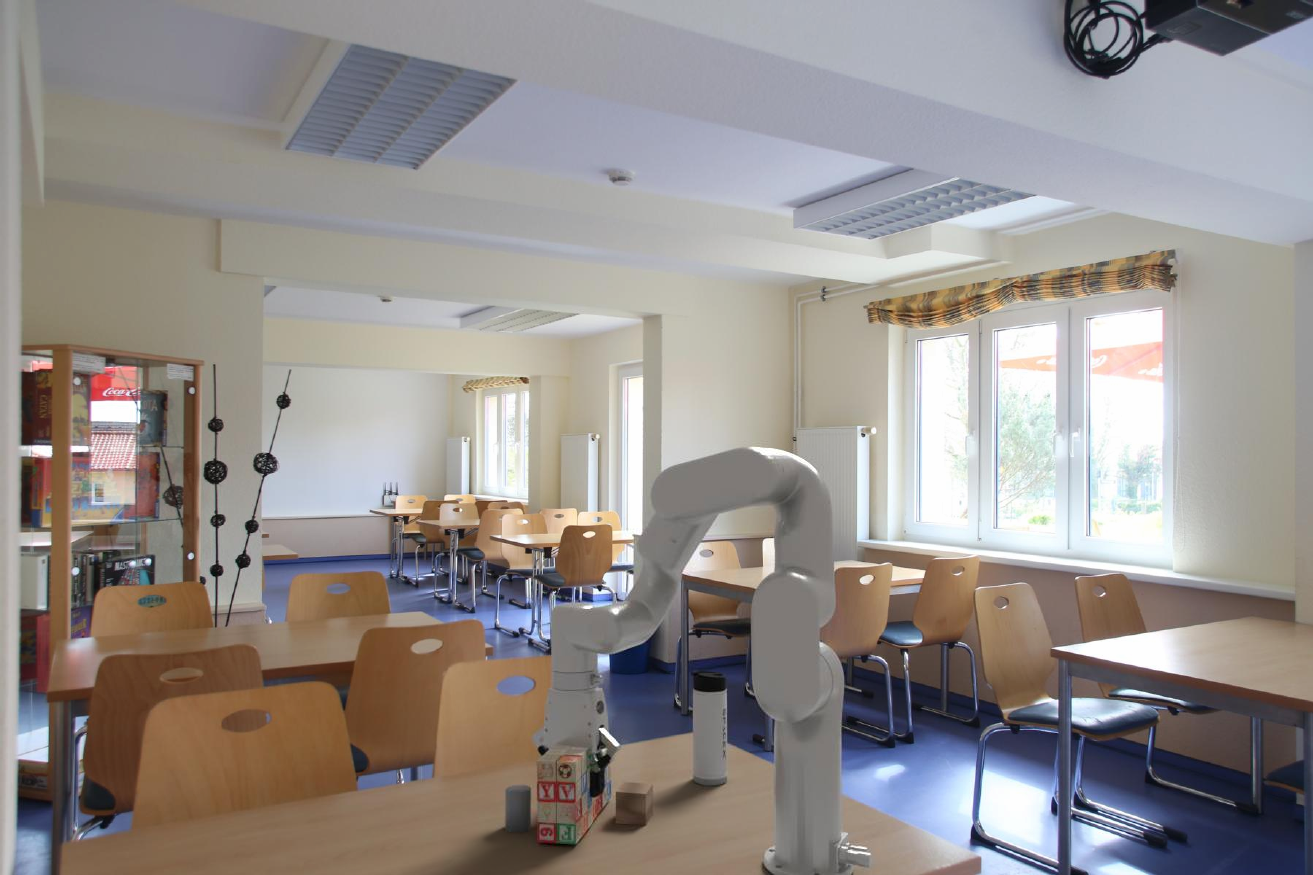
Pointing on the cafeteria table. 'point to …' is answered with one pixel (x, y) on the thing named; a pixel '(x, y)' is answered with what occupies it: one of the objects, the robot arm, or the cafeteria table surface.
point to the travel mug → (709, 728)
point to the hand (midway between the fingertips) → (575, 790)
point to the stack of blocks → (567, 794)
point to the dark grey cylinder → (518, 808)
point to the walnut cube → (634, 803)
